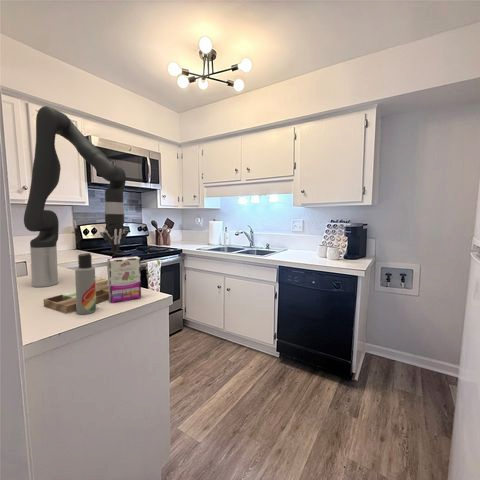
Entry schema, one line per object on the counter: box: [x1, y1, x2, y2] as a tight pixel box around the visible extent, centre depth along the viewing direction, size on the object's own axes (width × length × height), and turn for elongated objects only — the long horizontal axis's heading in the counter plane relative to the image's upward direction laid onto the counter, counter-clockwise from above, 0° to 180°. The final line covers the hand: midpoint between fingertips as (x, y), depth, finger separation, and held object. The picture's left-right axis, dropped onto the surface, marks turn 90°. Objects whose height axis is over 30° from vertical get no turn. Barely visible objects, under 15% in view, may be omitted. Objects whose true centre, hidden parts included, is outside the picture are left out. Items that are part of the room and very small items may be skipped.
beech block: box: [95, 277, 108, 290], centre depth 105 cm, size 5×5×3 cm
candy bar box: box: [107, 256, 142, 304], centre depth 99 cm, size 11×5×16 cm, turn 126°
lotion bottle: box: [74, 252, 97, 315], centre depth 86 cm, size 6×6×20 cm
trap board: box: [43, 287, 109, 314], centre depth 97 cm, size 13×22×2 cm, turn 155°
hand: (115, 252), depth 111 cm, fingers closed
